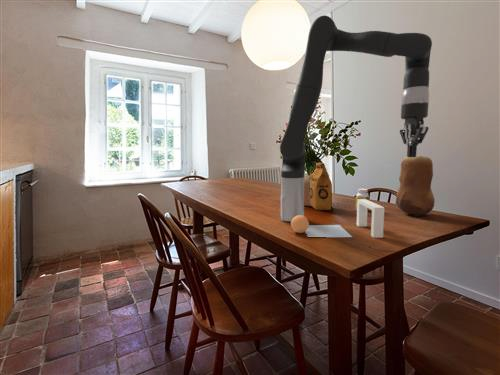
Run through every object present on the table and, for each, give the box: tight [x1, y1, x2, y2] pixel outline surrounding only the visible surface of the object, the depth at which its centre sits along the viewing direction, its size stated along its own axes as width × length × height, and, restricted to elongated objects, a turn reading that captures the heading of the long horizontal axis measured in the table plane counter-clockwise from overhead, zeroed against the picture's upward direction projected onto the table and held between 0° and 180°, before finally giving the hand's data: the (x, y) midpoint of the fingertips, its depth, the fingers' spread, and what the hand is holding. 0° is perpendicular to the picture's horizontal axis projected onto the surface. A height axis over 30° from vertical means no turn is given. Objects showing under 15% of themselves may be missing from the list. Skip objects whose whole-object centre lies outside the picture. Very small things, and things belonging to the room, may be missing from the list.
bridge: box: [356, 199, 385, 239], centre depth 94 cm, size 3×15×10 cm, turn 178°
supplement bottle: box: [355, 188, 370, 212], centre depth 126 cm, size 5×5×10 cm
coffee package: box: [308, 162, 333, 211], centre depth 132 cm, size 10×12×22 cm
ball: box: [290, 215, 310, 234], centre depth 93 cm, size 6×6×6 cm
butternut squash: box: [395, 155, 435, 217], centre depth 115 cm, size 14×13×25 cm
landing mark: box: [304, 224, 353, 238], centre depth 95 cm, size 14×14×1 cm
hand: (411, 157), depth 91 cm, fingers closed
